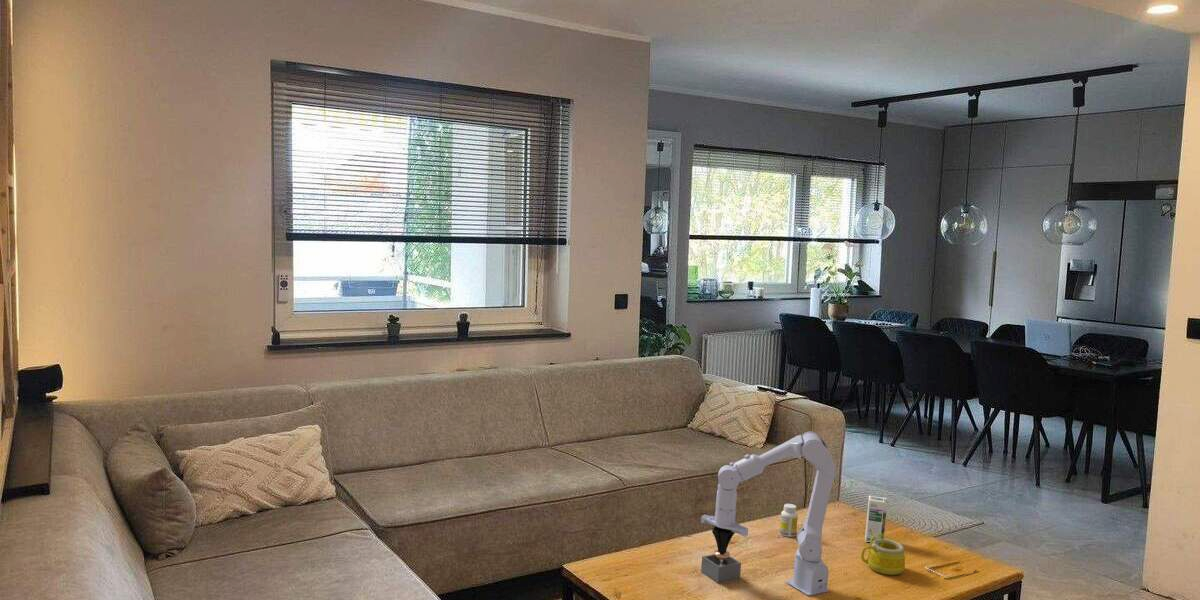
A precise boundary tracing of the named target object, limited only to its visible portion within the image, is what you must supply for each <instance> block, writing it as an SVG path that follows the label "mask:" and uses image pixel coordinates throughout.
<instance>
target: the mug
mask: <svg viewBox="0 0 1200 600" xmlns="http://www.w3.org/2000/svg"><path fill="white" fill-rule="evenodd" d="M869 531H870V532H871V529H869ZM871 534H872V532H871ZM877 535H879V536H880V537H882V539H876V538H875V536H877ZM879 536H878V538H880V537H879ZM872 539H874V541H872ZM867 549H869V550H868V554H867V555H868V556H867V558H864V557H865V556H864V555H865V551H866V550H867ZM905 551H906V550H905V547H904V545H902V544H901V543H899V542H898V541H895V540H892V539H886V538H885V537H884V538H883V536H882V535H881V534H875V535H873V534H872V538H871V539H870V543H869V545H865V546H864V547H863V548H862V550H861V553H860V559H861V561H862V562H863V563H865V564H866V565H868V566H869V568H870V569H871V570H873V571H875V572H876V573H879V574H882V575H883V574H884V575H886V576H896V574H897V575H900V574H902V573H903V572H904V571H905V566H906V560H905V558H906V556H905V555H906V554H905Z"/></svg>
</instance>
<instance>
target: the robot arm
mask: <svg viewBox="0 0 1200 600" xmlns="http://www.w3.org/2000/svg"><path fill="white" fill-rule="evenodd" d="M802 456H803V458H804V459H805V460H806V461H808V462H810V463H811V464H812V465H813V466H814V467H815V469H816V474H815V478H814V482H813V487H812V492H811V494H810V495H811V496H810V499H809V503H808V508H807V513H806V517H805V520H804V522H803V525H802V527H801V529H800V530H799V531H798V532H797V534H796V541H797V543H798V544H797V545H798V548H797V550H795V553H794V554H795V555H794V565H793V574H792V575H793V577H792V578H791V579H786V581H785V583H787V584H788V585H790V586H792V587H793V588H795V589H797V590H798V591H800V592H801V593H803V594H805V595H806V596H808V597H810V596H814V595H818V594H823V593H827V592H830V589H829V588H828V581H829V571H830V570H829V567H828V566H827V565H826V563H824V561H823V560H822V554H823V548H822V539H823V538H822V537H823V525H824V523H825V521H824V520H825V516H826V513H827V508H828V504H829V500H830V497H831V492H832V487H833V482H834V478H835V475H836V470H837V469H836V465H835V462H834V460H833V457H832V455H831V453H830V451H829V448H828V446H827V444H826V441H825V440H824V439H823V438H822V437H821V435H819V434H818V433H817V432H815V431H806V432H803V434H798V435H796V436H794V437H793V438H790V439H789V440H787V441H785V442H783V443H781V444H779V445H777V446H775V447H774V448H771V449H770V450H768V451H765V452H764V453H762V454H760V455H757V454H754V453H753V454H749V453H747V454H744V457H743V458H742V459H740V460H737V461H735V462H733V461H731V462H730V463H729V464H724V465H723V466H722V467H720V469H719V471H717V476H718V477H717V482H718V485H717V491H716V499H715V512H714V516H713V515H708V514H703V515H702V516H701V518H700V523H702V524H708V525H712V526H714V528H712V534H713V536H714V539H715V543H716V547H717V550H718V553H720V554H724V553H726V551H728V546H729V544H730V542H731V539H732V538H733V536H734V535H735V534H737V535H741V537H747V536H748V535H749V528H747V527H745V526H743V525H741V524H739V523H737V522H736V510H737V500H738V499H737V498H738V497H737V496H738V492H737V488H738V486H739V484H740V483H743V482H745V481H747V480H749V479H751V478H753V477H756V476H758V475H760V474H762V473H763V472H764V469H765V467H767V466H770V465H772V464H774V463H777V462H779V461H782V460H784V459H787V458H789V457H791V458H792V457H793V458H796V459H802Z"/></svg>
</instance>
